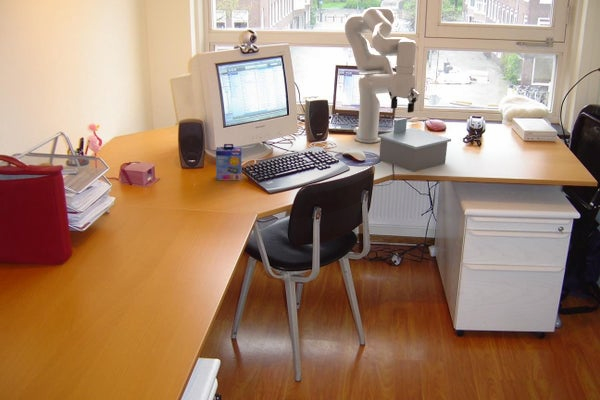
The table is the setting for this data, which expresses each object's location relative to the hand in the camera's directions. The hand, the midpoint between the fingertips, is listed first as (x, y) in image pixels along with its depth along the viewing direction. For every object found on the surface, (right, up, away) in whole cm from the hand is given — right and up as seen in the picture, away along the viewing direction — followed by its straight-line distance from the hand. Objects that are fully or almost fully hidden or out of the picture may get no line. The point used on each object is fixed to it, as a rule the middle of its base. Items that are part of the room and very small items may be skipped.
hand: (402, 110), depth 286 cm
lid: (+5, -14, -1) cm, 15 cm away
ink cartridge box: (-72, -30, -25) cm, 82 cm away
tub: (+5, -22, +2) cm, 23 cm away
